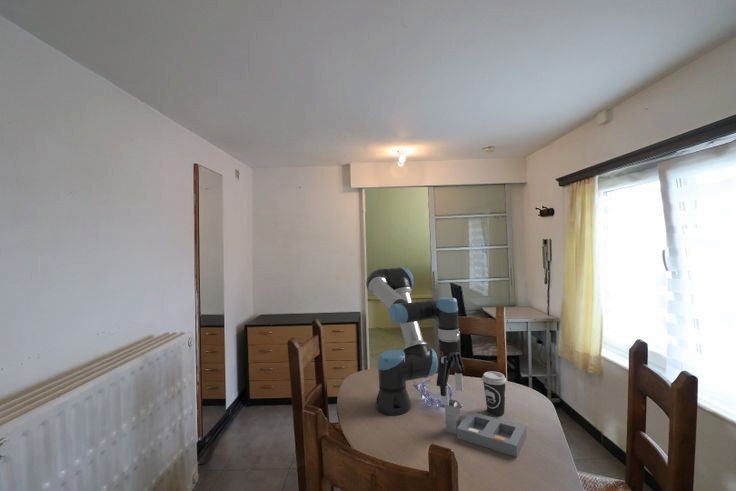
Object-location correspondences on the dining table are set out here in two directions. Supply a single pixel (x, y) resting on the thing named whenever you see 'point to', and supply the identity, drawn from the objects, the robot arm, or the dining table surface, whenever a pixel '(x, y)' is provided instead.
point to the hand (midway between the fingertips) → (452, 397)
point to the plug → (452, 416)
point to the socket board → (492, 433)
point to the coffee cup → (494, 392)
